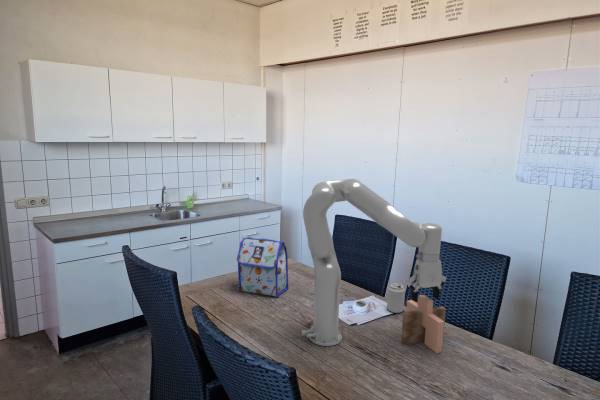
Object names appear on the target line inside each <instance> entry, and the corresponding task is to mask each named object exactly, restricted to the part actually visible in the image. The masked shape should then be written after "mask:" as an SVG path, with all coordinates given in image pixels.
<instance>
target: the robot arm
mask: <svg viewBox="0 0 600 400" xmlns="http://www.w3.org/2000/svg"><path fill="white" fill-rule="evenodd" d="M346 201H347V202H348V203H349V204H351V205H352V206H354V208H356V209H357V210H359V211H360V212H362V213H363V214H365V215H366V216H367V217H369V218H370V219H371V220H372V221H373V222H375V223H376V224H378V225H379V226H381V227H382V228H384V229H385V230H387V231H388V232H389V233H391V234H392V235H394V236H395V237H396V238H398V239H399V240H400V241H402V242H403V243H404V244H406V245H407V246H408V247H411V248H418V254H416V255H415V257H416V261H415V265H414V267H413V268H414V269H413V274H412V276H410V277H409V278H407V279H406V284H407V287H408V288H409V290H411V293H410V300H413V301H414V302H416V303H418V296H419V292H418V291H419V289H421V288H422V289H426V288H427V289H428V288H432V297H433V298H434V299H436V300H439V299H440V293H441V292H440V291H441V290H442V287H443V286H444V284H445V283H446V280H447V276H445V275H443V269H442V268H443V267H442V261H441V260H440V253H441V246H442V245H441V243H442V242H441V241H442V234H443V228H442V226H441V225H439V224H437V223H430V222H427V223H421V222H420V223H419V222H413V221H411V220H410V219H409V218H407V217H406V216H405V215H403V214H402V213H401V212H400V211H399V210H397V209H396V208H395V207H394V206H393V205H391V203H390V202H389V201H387V200H386V199H384V197H382V196H381V195H379V194H377V193H376V192H374V191H373V190H372V189H371V188H369V187H368V186H367V185H365V184H364V183H362V182H361V181H360V180H359V179H355V178H348V179H347V178H346V179H339V180H329V181H322V182H319V183H317V184H316V185H314V187H313V188H312V191H311V194H310V195H309V197H308V198H307V199H306V201H305V203H304V206H303V210H302V217H303V224H304V227H305V232H306V236H307V237H306V238H307V245H308V249H309V251H310V255H311V258H312V263H313V267H314V293H313V294H314V295H313V296H314V297H313V305H314V306H313V309H314V310H313V325H310V328H308V329H303V330H301V333H300V334H301V336H303V337H304V336H306V338H309V340H310V341H311V342H312V343H313V344H315V345H318V346H324V347H331V346H335V345H336V346H337V345H338V344H340V343H341V342H342V340H343V335H342V334H341V332H340V331H339V319H340V318H339V317H340V316H339V314H340V289H341V282H342V281H341V279H342V273H341V268H340V265H339V261H338V259H337V254H336V251H335V247H334V240H333V236H332V234H331V232H330V227H329V223H328V218H327V212H328V210H329V209H330V208H331V207H332V206H333V205H334V204H335V203H339V202H340V203H341V202H346Z"/></svg>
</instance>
